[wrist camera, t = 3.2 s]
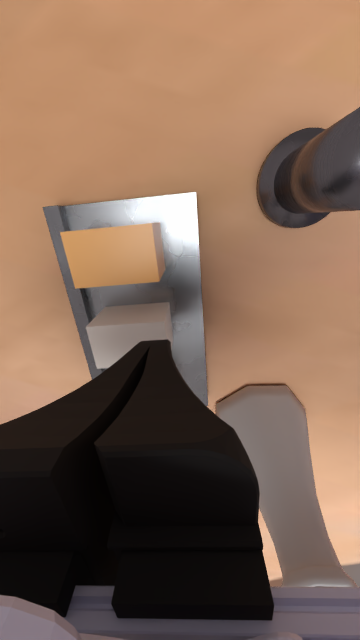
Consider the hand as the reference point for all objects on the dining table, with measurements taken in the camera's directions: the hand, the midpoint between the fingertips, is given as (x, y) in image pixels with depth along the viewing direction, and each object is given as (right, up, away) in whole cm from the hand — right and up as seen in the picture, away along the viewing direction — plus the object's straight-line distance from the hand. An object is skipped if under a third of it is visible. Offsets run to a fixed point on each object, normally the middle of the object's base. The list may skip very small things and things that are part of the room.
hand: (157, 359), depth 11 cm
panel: (-1, +2, +5) cm, 6 cm away
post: (+7, +9, +2) cm, 12 cm away
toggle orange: (-2, +6, +2) cm, 7 cm away
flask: (+7, -6, +9) cm, 13 cm away
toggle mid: (-2, +2, +4) cm, 5 cm away
